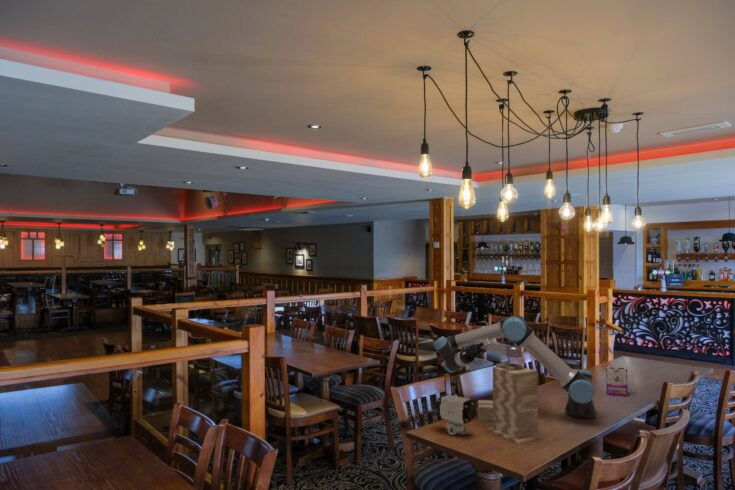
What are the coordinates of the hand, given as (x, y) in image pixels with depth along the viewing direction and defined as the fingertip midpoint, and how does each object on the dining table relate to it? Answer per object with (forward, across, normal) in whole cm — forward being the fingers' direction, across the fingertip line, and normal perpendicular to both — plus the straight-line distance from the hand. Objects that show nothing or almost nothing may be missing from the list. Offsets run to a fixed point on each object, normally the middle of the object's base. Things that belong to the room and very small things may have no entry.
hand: (491, 340), depth 246 cm
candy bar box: (-24, -101, -34) cm, 109 cm away
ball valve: (-20, +23, -36) cm, 47 cm away
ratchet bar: (+1, 0, -6) cm, 6 cm away
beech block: (-29, -7, -30) cm, 43 cm away
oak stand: (-8, 0, -43) cm, 44 cm away
